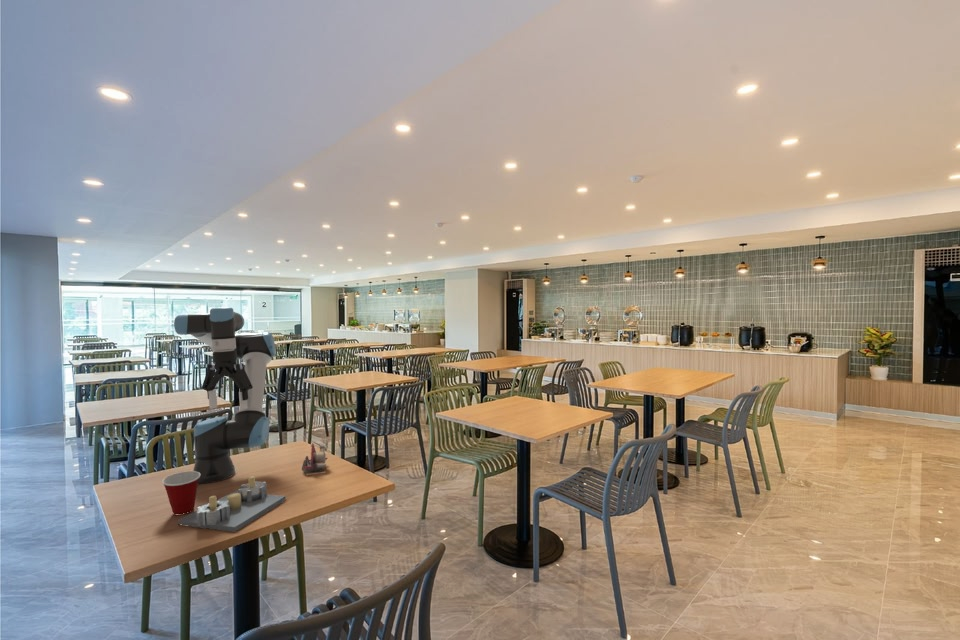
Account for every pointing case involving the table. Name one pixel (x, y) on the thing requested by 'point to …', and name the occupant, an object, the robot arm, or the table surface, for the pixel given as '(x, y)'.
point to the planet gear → (213, 513)
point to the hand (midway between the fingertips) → (228, 408)
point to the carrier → (237, 510)
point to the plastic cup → (182, 490)
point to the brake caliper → (315, 461)
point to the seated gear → (252, 492)
